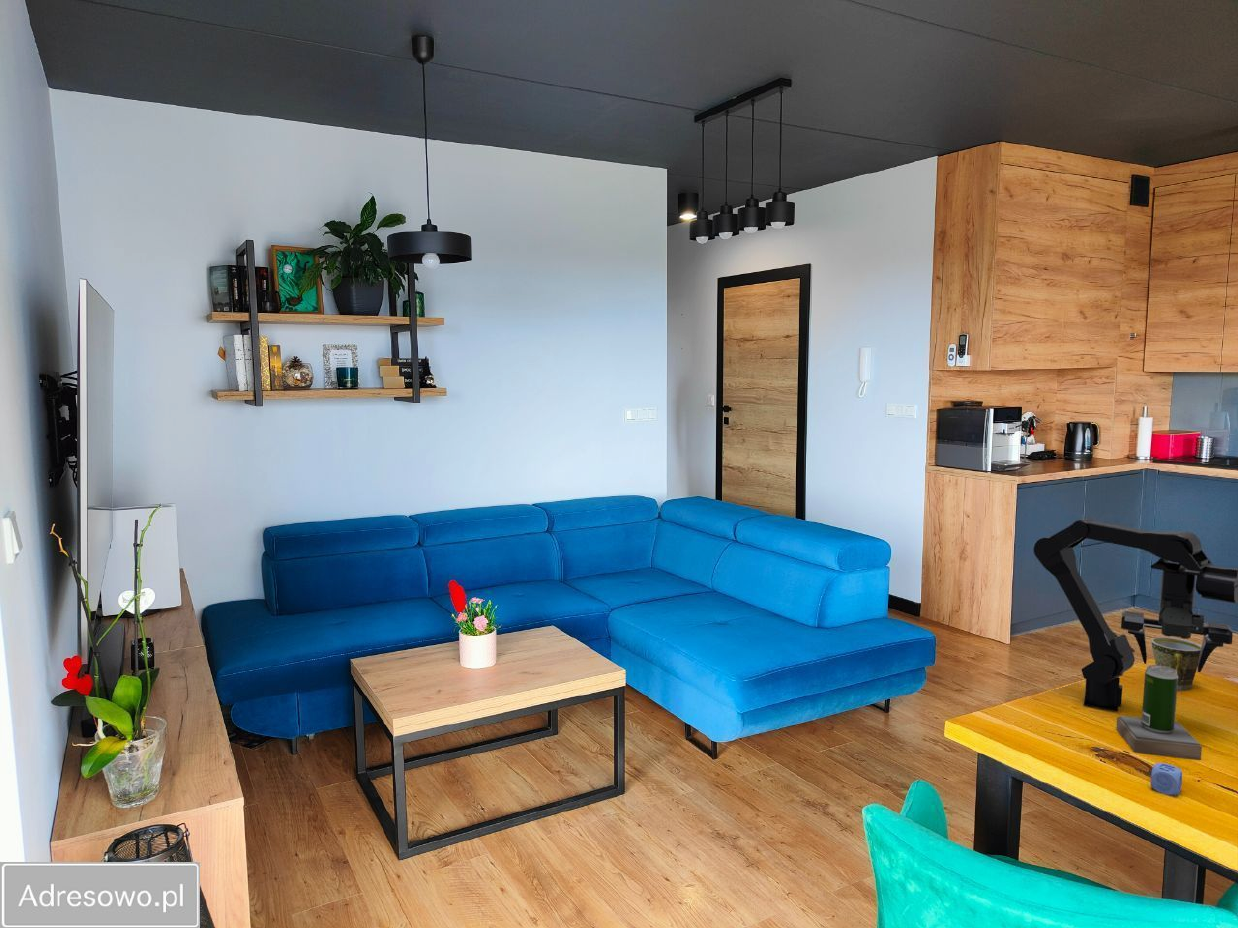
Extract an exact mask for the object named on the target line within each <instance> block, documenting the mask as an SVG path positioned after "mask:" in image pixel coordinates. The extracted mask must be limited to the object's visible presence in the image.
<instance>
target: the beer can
mask: <svg viewBox="0 0 1238 928" xmlns="http://www.w3.org/2000/svg"><path fill="white" fill-rule="evenodd" d="M1143 683H1144V686H1143V698H1142V712H1141V718H1142V722H1141V723H1142V725H1143V727H1144V728H1145V729H1147V730H1149V731H1151V732H1155V733H1160V734H1170V733H1172V731H1173V730H1174V724H1175V722H1176V721H1175V720H1176V709H1177V708H1176V707H1177V698H1178V697H1177V695H1178V690H1177V687H1178V675H1177V671H1176V670H1175V669H1173V668H1170V667H1166V666H1160V665H1155V664H1150V665H1147V666H1146V670H1145V672H1144V682H1143Z"/></svg>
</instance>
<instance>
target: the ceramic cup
mask: <svg viewBox="0 0 1238 928" xmlns="http://www.w3.org/2000/svg"><path fill="white" fill-rule="evenodd" d="M1201 646H1202V644H1201V645H1200V644H1198V643H1196V642H1193V641H1189V640H1188V639H1186V640H1185V639H1183V638H1177V637H1175V638H1174V637H1166V636H1165V637H1154V638H1152V639H1151V648H1152V654H1153V658H1154V665H1160V666H1166V667H1170V668H1173V669H1175V670H1176V671H1177V675H1178V687H1177V691H1187V690H1191V689H1192V686H1193V682H1194V681H1195V677H1196V673H1197V671H1198V661H1199V656H1200V651H1201Z"/></svg>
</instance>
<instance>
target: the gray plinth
mask: <svg viewBox="0 0 1238 928" xmlns="http://www.w3.org/2000/svg"><path fill="white" fill-rule="evenodd" d="M1141 722H1142V717H1136V716H1135V717H1134V716H1126V715H1125V716H1123V715H1119V716H1116V727H1115V730H1116V731H1117V732H1118V733H1119V735H1120V736H1121V737H1122V738H1123V740H1124V741H1125V742H1126V744H1127V745H1128V746H1129V748H1130V749H1132V751H1133V752H1134V753H1137V754H1144V755H1145V754H1146V755H1153V756H1164V757H1170V758H1171V757H1173V758H1181V759H1190V760H1198V761H1201V760H1202V752H1203V746H1202V745H1201V743H1199V742H1198V741H1197V740H1196V738H1195V737H1194V736H1193V735H1192V734H1191V733H1190V732H1189V731H1188V730H1187V729H1186V728H1185V727H1184V726H1183V725H1182V724H1181V723H1180V722H1179V721H1175V724H1174V730H1173V731H1172V733H1170V734H1160V733H1155V732H1151V731H1149V730H1147V729H1145V728H1144V727H1143V725H1142V723H1141Z"/></svg>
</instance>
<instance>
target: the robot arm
mask: <svg viewBox="0 0 1238 928" xmlns="http://www.w3.org/2000/svg"><path fill="white" fill-rule="evenodd" d="M1087 539H1088V540H1093V541H1099V542H1104V543H1108V544H1113V545H1118V546H1119V545H1120V546H1124V547H1129V548H1132V549H1139V550H1142V551H1145V552H1147V553H1150V554H1152V555H1154V556H1155V557H1157V558H1159V559H1158V560H1157V561H1155V563H1153V564H1151V565H1150V569H1151V570H1158V571H1161V582H1160V584H1161V585H1160V592H1159V593H1160V597H1159V607H1158V609H1159V610H1158V619H1156V618H1155V619H1154V618H1149V617H1145V615H1144V613H1143V612H1138V611H1137V612H1136V611H1131V610H1130V611H1129V610H1124V611H1123V612H1121V621H1120V629H1122V630H1126V631H1127V633H1128V634H1129V635H1133V636H1134V638H1135V640H1136V642H1137V644H1138V647H1139V650H1140V654H1141V657H1142V661H1143V664H1144V665H1146V664H1147V659H1148V658H1147V656H1148V654H1147V644H1146V643H1147V642H1146V632H1145V631H1146V630H1145V628H1149V629H1156V630H1161V635H1163V636H1165V637H1168V638H1171V637H1175V638H1180V639H1182V640H1185V639H1186V640H1188V639H1190V638H1191V636H1192V635H1199V636H1202V637H1203V638H1202V642H1201V651H1200V656H1199V661H1198V667H1197V673H1201V671H1202V670H1203V669H1204V666H1205V665H1206V662H1207V660H1208V658H1209V657H1210V656H1211V654H1212V652H1213V651H1214V650H1215V649H1216V648H1223V647H1224V644H1225V645H1232V644H1233V637H1234V635H1233V630H1232V628H1231V626H1230V625H1229V624H1227V623H1220V622H1213V621H1206V625H1205V615H1204V614H1196V613H1195V614H1194V602H1195V591H1196V593H1197V594H1198V595H1200V597H1202V599H1207V600H1214V601H1219V602H1225V603H1230V604H1237V605H1238V568H1236V567H1222V566H1217V565H1214V564H1213V563H1212V561H1211V560H1210V558H1209V557H1208V556H1207V555H1206V553H1205V551H1204V550H1203V549H1202V543H1201V542H1202V541H1201V540H1200V538H1199V537H1198V536H1197V535H1196V534H1195V533H1192V532H1190V531H1185V530H1184V531H1180V530H1146V529H1140V528H1137V527H1136V528H1135V527H1129V526H1124V525H1119V524H1113V523H1107V522H1102V521H1096V520H1093V519H1091V518H1082V519H1078V520H1075V521H1074V522H1073V523H1071V524H1070V525H1068V526H1067V527H1065V528H1064V529H1061V530H1060V531H1058V532H1056V533H1055V534H1053V535H1050V536H1046V537H1042V538H1039V539H1038V540H1036V542H1035V543H1034V547H1033V548H1032V549H1033V555H1034V557H1035V558H1036V559H1037V560H1038V562H1039V563H1040V564H1041V566H1042V567H1043V568H1044V569H1045V570H1046V571H1047V572H1049V573H1050V574H1051V575H1052V576H1053V577H1054V578H1055V579H1056V580H1057V582H1058V584H1059V586H1060V588H1061V590H1062V592H1063V593H1064V595H1065V597H1066V599H1067V601H1068V603H1069V604H1070V606H1071V608H1072V609H1073V611H1074V612H1073V613H1075V615H1076V617H1077V619H1078V620H1079V622H1080V624H1081V626H1082V628H1083V630H1084V631H1085V633H1086V635H1087V638H1088V643H1089V653H1090V656H1091V659H1092V662H1091V663H1089V664H1087V665H1085V666H1084V667H1082V668H1081V673H1082V676H1083V679H1085V687H1084V688H1085V690H1084V698H1083V706H1085V707H1089V708H1096V709H1100V710H1106V711H1112V712H1119V708H1121V707H1122V697H1123V685H1122V684H1120V682H1121V681H1120V680H1121V678H1120V677H1122V676H1123V675H1124V673H1125V672H1126V671H1129V670H1131V669H1132V667H1133V666H1134V663H1135V661H1136V660H1135V659H1136V658H1135V656H1134V653H1135V652H1136V651H1135V649H1134V648H1133V647H1132V646H1131V645H1130V643H1129V641H1128V637H1127V636H1126V634H1123V633H1122V634H1121V635H1119V636H1118V635H1117V634H1116V633H1115V632H1114V631H1113V630H1111V628H1110V626H1109V625H1108V622H1107V621H1106V620H1105V618H1104V616H1103V614H1102V612H1101V610H1100V608H1099V607H1098V604H1097V603H1096V601H1095V600H1094V598H1093V596H1092V594H1091V592H1090V591H1089V589H1088V587H1087V586H1086V583H1085V582H1084V580H1083V578H1082V576H1081V575H1080V573H1079V571H1078V568H1077V559H1076V554H1075V551H1074V548H1075V547H1077V546H1079V545H1080V544H1082V543H1083V542H1085V540H1087Z"/></svg>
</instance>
